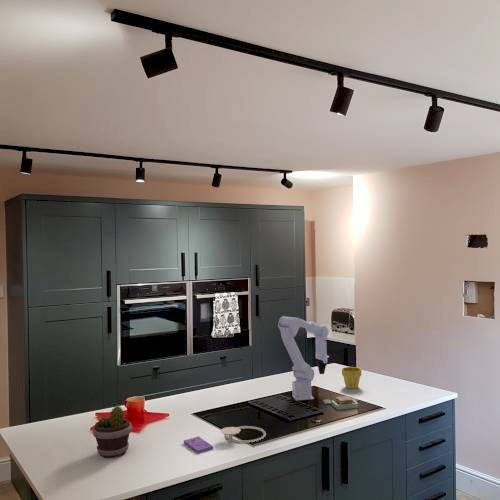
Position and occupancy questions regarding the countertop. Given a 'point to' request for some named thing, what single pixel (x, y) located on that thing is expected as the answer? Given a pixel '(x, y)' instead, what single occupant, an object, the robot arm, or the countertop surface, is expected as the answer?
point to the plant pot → (351, 376)
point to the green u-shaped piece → (342, 406)
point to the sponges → (198, 444)
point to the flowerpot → (112, 434)
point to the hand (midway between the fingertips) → (321, 373)
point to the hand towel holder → (236, 430)
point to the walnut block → (344, 400)
